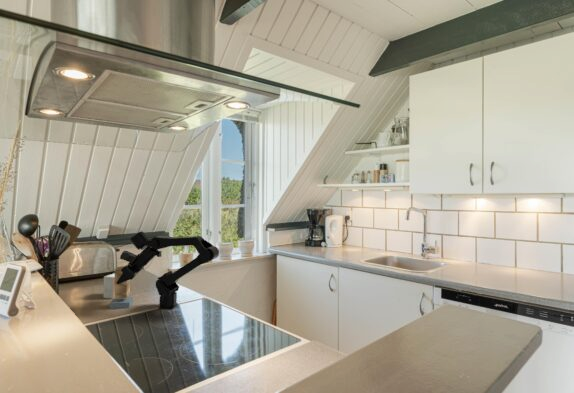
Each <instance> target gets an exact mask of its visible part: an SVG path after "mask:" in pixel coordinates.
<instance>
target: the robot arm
mask: <svg viewBox="0 0 574 393" xmlns="http://www.w3.org/2000/svg"><path fill="white" fill-rule="evenodd" d="M129 242H130V243H131V244H132V245H133V246H134V247H135V249H137V250H139V251H140V250H141V251H140V253H138V254H135V253H132V252H130V251H128V250H123V251H122V252H121V254H120V257H119V259H120V260H122V261H123V260H124V261H126V262H127V265H124V266H122V267H123V268H122V269H121V272H122V273H123V274H122V275H121V277H120V278H119V280H118V281H117V284H120V283H122V282H125V281H127V280H130V281H131V280H133V279H134V278H135V277H136V276H137V275H138V273H139V272H141V271H142V270H143V269H144V268H145V267H146V266H147V265H148V264H149V263H150V262H151V261H152V260H153V259H155V257H157V258H161V257H162V252H163V251H162V249H165V248H169V247H183V246H184V247H188V246H189V247H190V246H194V248H195V250H196V252H197V253H198V255H197V256H196V257H195V258H193V259H192V260H191V261H189V262H188V263H185V265H183V266H181V267H180V268H179V269H177V270H174V272H173V271H172V270H169V271H167V272H165V273H164V274H162V275H161V276H159V277H157V280H156V281H155V288H156V289H157V292H158V295H159V306H158V309H164V310H165V309H166V310H167V309H168V310H169V309H170V310H172V309H174V308H175V307H177V306H178V304H179V303H178V302H177V297H178V296H177V294H178V292H177V291H179V288H180V286H179V285H178V284H177V282H178V281H179V280H180V279H181V278H183V277H185V275H188V274H189V273H190V272H192V271H194V270H195V269H196V268H198V267H200V266H202V265H204V264H206V263H208V262H211V261H213V260H215V259H217V258H218V257H219V256H220V250H219V248H218V247H216V246H214V245H213V244H212V243H210V241H207V240H206V239H204V237H203V236H202V235H196V236H177V237H176V236H175V237H174V236H173V237H172V236H170V235H163V234H162V235H159V236H153V237H152V238H149V237H148V236H147V235H146V234H145V233H144V231H142V230H141V231H139V232H137V233H136V234H135V235H133V236H131V237H130V239H129Z"/></svg>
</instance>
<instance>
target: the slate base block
mask: <svg viewBox="0 0 574 393" xmlns="http://www.w3.org/2000/svg"><path fill="white" fill-rule="evenodd" d="M133 303H134V296H128V297H127V298H114V299H112V300H111V301H110V302H109V310H118V309H119V310H120V309H121V310H122V309H124V310H125V309H130V307H131V306H133Z"/></svg>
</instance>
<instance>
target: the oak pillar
mask: <svg viewBox="0 0 574 393" xmlns="http://www.w3.org/2000/svg"><path fill="white" fill-rule="evenodd" d="M123 267H124V266H117V267H115V269H114V273H115V298H127V297H130V291H131V290H130V288H131V287H130V286H131V283H130V282H131V280H127V281H125V282H122V283H120V284H117V281H118V280H119V278H120V277H121V275H122V274H123V273H122V272H121V269H122V268H123Z"/></svg>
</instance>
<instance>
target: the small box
mask: <svg viewBox="0 0 574 393" xmlns="http://www.w3.org/2000/svg"><path fill="white" fill-rule="evenodd" d="M103 298H104V299H112V300H113V299H114V298H115V272H113V273H112V274H111V273H110V274H107V275H105V276H104V275H103Z"/></svg>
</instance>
